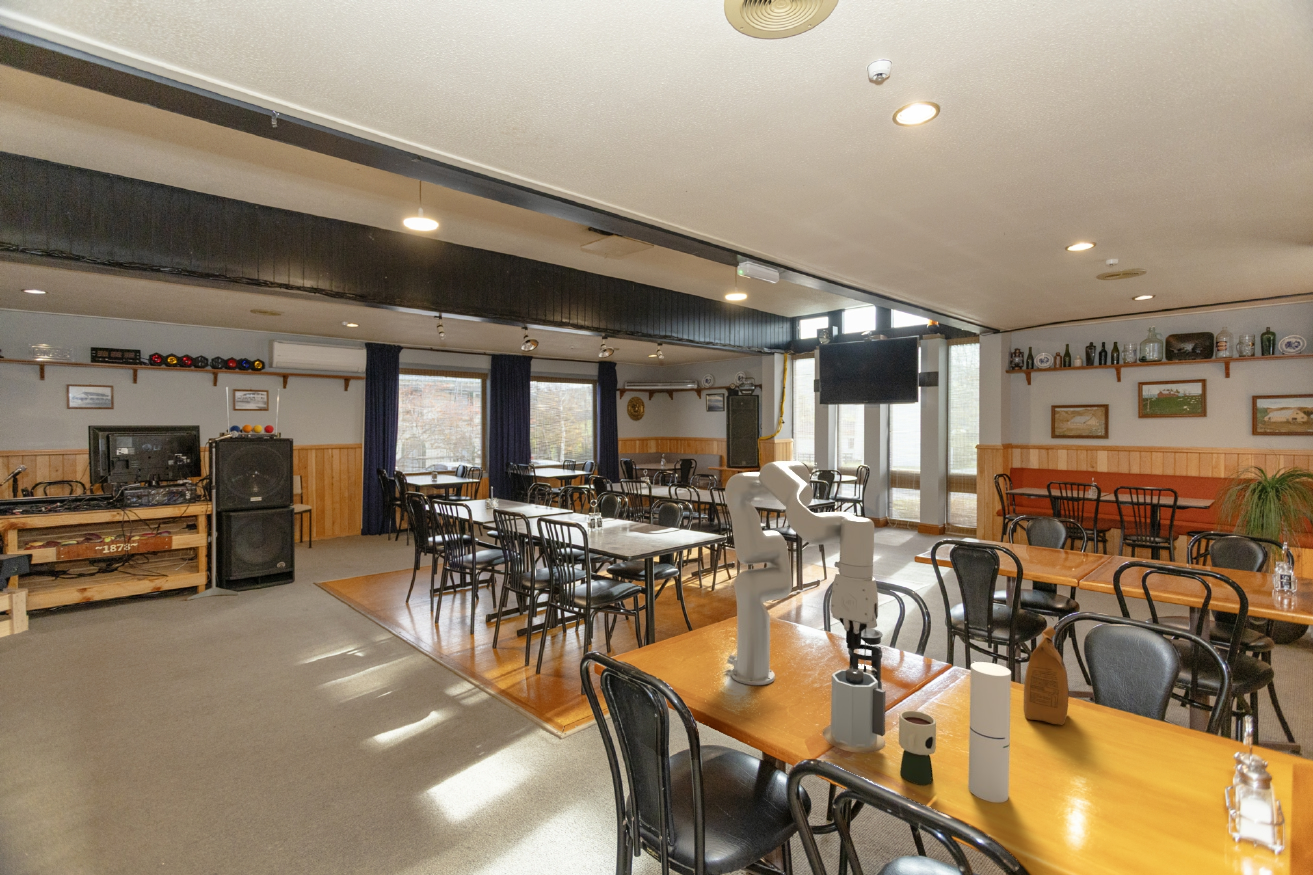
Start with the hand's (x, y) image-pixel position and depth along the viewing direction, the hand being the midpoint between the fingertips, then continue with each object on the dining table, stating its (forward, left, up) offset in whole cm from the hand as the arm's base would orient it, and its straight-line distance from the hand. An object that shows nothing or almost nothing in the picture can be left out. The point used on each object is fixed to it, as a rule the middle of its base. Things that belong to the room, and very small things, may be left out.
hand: (853, 647), depth 145 cm
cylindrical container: (+30, 0, -22) cm, 37 cm away
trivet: (+1, 0, -22) cm, 22 cm away
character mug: (+17, -6, -22) cm, 29 cm away
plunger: (0, 0, -18) cm, 18 cm away
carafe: (+2, 0, -21) cm, 21 cm away
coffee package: (+29, +47, -22) cm, 60 cm away
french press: (-9, +27, -22) cm, 36 cm away
